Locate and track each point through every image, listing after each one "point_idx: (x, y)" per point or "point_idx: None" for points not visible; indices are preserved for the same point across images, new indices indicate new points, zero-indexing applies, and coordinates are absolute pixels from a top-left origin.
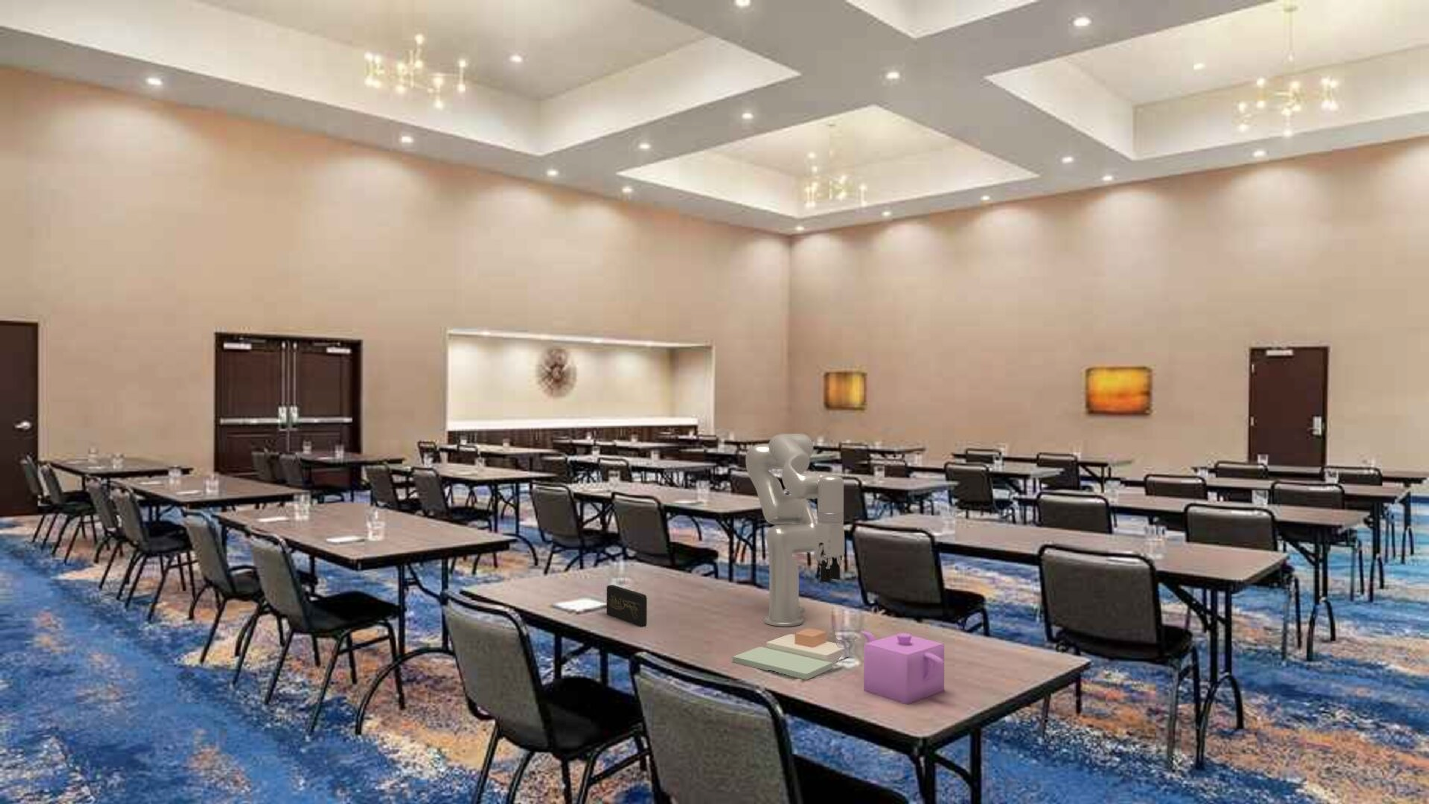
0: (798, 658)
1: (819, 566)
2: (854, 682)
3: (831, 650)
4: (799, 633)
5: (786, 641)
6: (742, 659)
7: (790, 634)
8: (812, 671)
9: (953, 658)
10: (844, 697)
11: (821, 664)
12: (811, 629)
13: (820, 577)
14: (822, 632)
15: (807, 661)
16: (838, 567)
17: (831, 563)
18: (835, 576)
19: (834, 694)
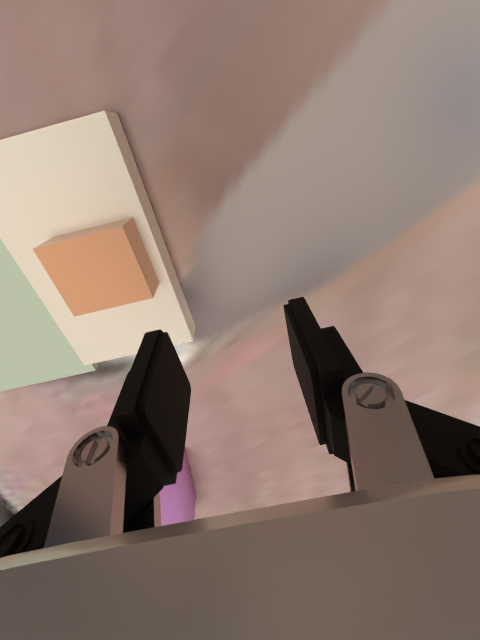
0: (26, 307)
1: (71, 449)
2: (91, 428)
3: (122, 344)
4: (48, 262)
5: (35, 196)
6: None
7: (100, 120)
8: (15, 387)
9: None
10: (30, 460)
11: (62, 367)
12: (123, 246)
13: (140, 345)
14: (135, 297)
15: (39, 336)
16: (320, 442)
17: (340, 398)
18: (295, 358)
19: (20, 447)
